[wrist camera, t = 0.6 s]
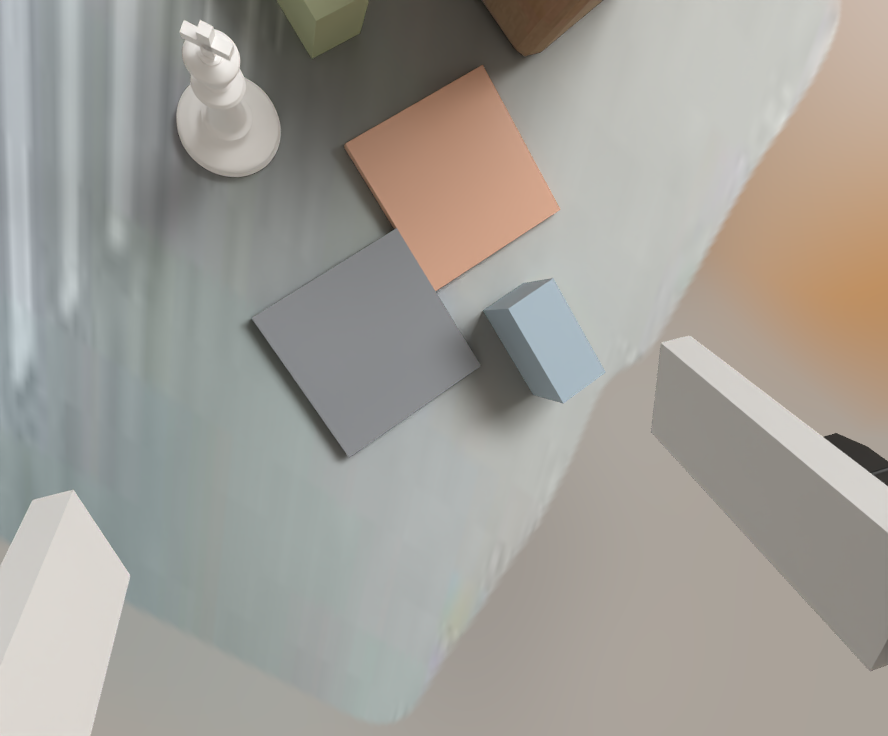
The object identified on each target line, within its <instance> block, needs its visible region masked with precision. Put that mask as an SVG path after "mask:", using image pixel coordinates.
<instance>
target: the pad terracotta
mask: <svg viewBox="0 0 888 736" xmlns="http://www.w3.org/2000/svg"><path fill="white" fill-rule="evenodd" d="M344 148H345V149H346V151H347V153H348V154H349V156H350V158H351V159H352V161H353V162H354V164H355V166H356V167H357V169H358V171H359V172H360V174H361V176H362V177H363V179H364V180H365V182H366V184H367V185H368V187H369V189H370V190H371V192H372V194H373V195H374V197H375V198H376V200H377V202H378V203H379V205H380V207H381V208H382V210H383V211H384V213H385V215H386V216H387V218H388V220H389V221H390V223H391V225H392V226H393V228H394V229H396V228H397V229H398V231H399V232H400V234H401V236H402V237H403V239H404V241H405V242H406V244H407V246H408V247H409V249H410V250H411V252H412V254H413V255H414V257H415V259H416V260H417V262H418V264H419V265H420V267H421V268H422V270H423V272H424V273H425V275H426V277H427V278H428V280H429V282H430V283H431V285H432V286H433V288H434V290H435V291H437V290H438V289H440V288H441V287H443V286H444V285H446V284H447V283H449V282H450V281H452V280H454V279H455V278H457V277H458V276H460V275H461V274H463V273H464V272H466V271H467V270H469V269H470V268H472V267H473V266H475V265H476V264H478V263H479V262H481V261H483V260H484V259H486V258H487V257H489V256H490V255H492V254H493V253H495V252H496V251H498V250H499V249H501V248H502V247H504V246H505V245H507V244H509V243H510V242H512V241H513V240H515V239H516V238H518V237H519V236H521V235H522V234H524V233H525V232H527V231H528V230H530V229H531V228H533V227H535V226H536V225H538V224H539V223H541V222H542V221H544V220H545V219H547V218H548V217H550V216H551V215H553V214H554V213H556V212H557V211H559V210H560V208H559V206H558V204H557V202H556V200H555V198H554V197H553V195H552V193H551V191H550V189H549V187H548V185H547V183H546V182H545V180H544V178H543V176H542V174H541V172H540V170H539V169H538V167H537V165H536V163H535V161H534V159H533V157H532V156H531V154H530V152H529V150H528V148H527V146H526V144H525V143H524V141H523V139H522V137H521V135H520V133H519V131H518V129H517V128H516V126H515V124H514V122H513V120H512V118H511V116H510V115H509V113H508V111H507V109H506V107H505V105H504V103H503V102H502V100H501V98H500V96H499V94H498V92H497V90H496V89H495V87H494V85H493V83H492V81H491V79H490V77H489V75H488V74H487V72H486V70H485V68H484V66H483V65H481V66H480V67H478V68H476V69H474V70H473V71H471V72H469V73H467V74H466V75H464V76H462V77H460V78H459V79H457V80H455V81H453V82H452V83H450V84H448V85H447V86H445V87H443V88H441V89H440V90H438V91H436V92H434V93H433V94H431V95H429V96H427V97H426V98H424V99H422V100H420V101H419V102H417V103H415V104H413V105H412V106H410V107H408V108H406V109H405V110H403V111H401V112H399V113H398V114H396V115H394V116H392V117H391V118H389V119H387V120H386V121H384V122H382V123H380V124H379V125H377V126H375V127H373V128H372V129H370V130H368V131H366V132H365V133H363V134H361V135H359V136H358V137H356V138H354V139H352V140H351V141H349V142H347V143H345V146H344Z"/></svg>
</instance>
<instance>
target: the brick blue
mask: <svg viewBox="0 0 888 736" xmlns="http://www.w3.org/2000/svg"><path fill="white" fill-rule="evenodd" d="M483 311H484V313H485V315H486V316H487V318H488V320H489V321H490V323H491V325H492V326H493V328H494V330H495V332H496V333H497V335H498V337H499V338H500V340H501V342H502V343H503V345H504V347H505V348H506V350H507V352H508V353H509V355H510V357H511V358H512V360H513V362H514V363H515V365H516V367H517V368H518V370H519V372H520V374H521V375H522V377H523V379H524V380H525V382H526V384H527V385H528V387H529V389H530V390H531V392H532V394H533V395H536V396H540V397H543V398H546V399H550V400H553V401H557V402H560V403H565V402H566V401H567V400H569V399H570V398H571V397H573V396H574V395H576V394H577V393H578V392H580V391H581V390H582V389H584V388H585V387H586V386H588V385H589V384H590V383H592V382H593V381H595V380H596V379H597V378H599V377H600V376H601V375H603V374H604V373H605V370H604V368H603V367H602V365H601V363H600V361H599V359H598V358H597V356H596V354H595V352H594V351H593V349H592V347H591V345H590V343H589V342H588V340H587V338H586V336H585V334H584V333H583V331H582V329H581V327H580V325H579V324H578V322H577V320H576V318H575V316H574V315H573V313H572V311H571V309H570V307H569V306H568V304H567V302H566V300H565V298H564V297H563V295H562V293H561V291H560V289H559V288H558V286H557V284H556V282H555V280H554V279H553V278H551V279H545V280H539V281H533V282H527V283H523V284H521V285H520V286H518V287H517V288H515V289H514V290H512V291H511V292H509V293H508V294H507V295H505V296H504V297H502V298H501V299H499V300H498V301H496V302H495V303H493V304H492V305H490V306H489V307H487V308H486V309H484V310H483Z"/></svg>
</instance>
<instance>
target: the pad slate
mask: <svg viewBox="0 0 888 736" xmlns="http://www.w3.org/2000/svg"><path fill="white" fill-rule="evenodd" d="M252 319H253V321H254V322H255V324H256V325H257V327H258V328H259V330H260V331H261V332H262V334H263V335H264V337H265V338H266V340H267V341H268V342H269V344H270V345H271V347H272V348H273V350H274V351H275V352H276V354H277V355H278V357H279V358H280V360H281V361H282V362H283V364H284V365H285V367H286V368H287V370H288V371H289V372H290V374H291V375H292V377H293V378H294V380H295V381H296V382H297V384H298V385H299V387H300V388H301V390H302V391H303V392H304V394H305V395H306V397H307V398H308V400H309V401H310V402H311V404H312V405H313V407H314V408H315V410H316V411H317V412H318V414H319V415H320V417H321V418H322V420H323V421H324V422H325V424H326V425H327V427H328V428H329V430H330V431H331V432H332V434H333V435H334V437H335V438H336V440H337V441H338V442H339V444H340V445H341V447H342V448H343V450H344V451H345V452H346V454H347V455H348V457H349V458H350V457H351V456H352V455H354V454H355V453H357V452H358V451H360V450H361V449H363V448H364V447H365V446H367V445H368V444H370V443H371V442H373V441H374V440H375V439H377V438H378V437H380V436H381V435H383V434H384V433H385V432H387V431H388V430H390V429H391V428H393V427H394V426H395V425H397V424H398V423H400V422H401V421H403V420H404V419H406V418H407V417H408V416H410V415H411V414H413V413H414V412H416V411H417V410H418V409H420V408H421V407H423V406H424V405H426V404H427V403H428V402H430V401H431V400H433V399H434V398H436V397H437V396H439V395H440V394H441V393H443V392H444V391H446V390H447V389H449V388H450V387H451V386H453V385H454V384H456V383H457V382H459V381H460V380H461V379H463V378H464V377H466V376H467V375H469V374H470V373H472V372H473V371H474V370H476V369H477V368H479V367H480V366H481V365H480V363H479V362H478V360H477V358H476V357H475V355H474V354H473V352H472V350H471V349H470V347H469V345H468V344H467V342H466V340H465V339H464V337H463V336H462V334H461V332H460V331H459V329H458V327H457V326H456V324H455V322H454V321H453V319H452V318H451V316H450V314H449V313H448V311H447V309H446V308H445V306H444V304H443V303H442V301H441V300H440V298H439V296H438V295H437V293H436V291H435V290H434V288H433V286H432V285H431V283H430V282H429V280H428V278H427V277H426V275H425V273H424V272H423V270H422V268H421V267H420V265H419V264H418V262H417V260H416V259H415V257H414V255H413V254H412V252H411V250H410V249H409V247H408V246H407V244H406V242H405V241H404V239H403V237H402V236H401V234H400V232H399V231H398V229H397V228H396V229H394V230H393V231H391V232H389V233H388V234H386V235H385V236H383V237H381V238H380V239H378V240H376V241H375V242H373V243H372V244H370V245H368V246H367V247H365V248H364V249H362V250H360V251H359V252H357V253H355V254H354V255H352V256H351V257H349V258H347V259H346V260H344V261H343V262H341V263H339V264H338V265H336V266H334V267H333V268H331V269H330V270H328V271H326V272H325V273H323V274H322V275H320V276H318V277H317V278H315V279H313V280H312V281H310V282H309V283H307V284H305V285H304V286H302V287H301V288H299V289H297V290H296V291H294V292H292V293H291V294H289V295H288V296H286V297H284V298H283V299H281V300H280V301H278V302H276V303H275V304H273V305H271V306H270V307H268V308H267V309H265V310H263V311H262V312H260V313H259V314H257V315H255V316H254V317H252Z"/></svg>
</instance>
